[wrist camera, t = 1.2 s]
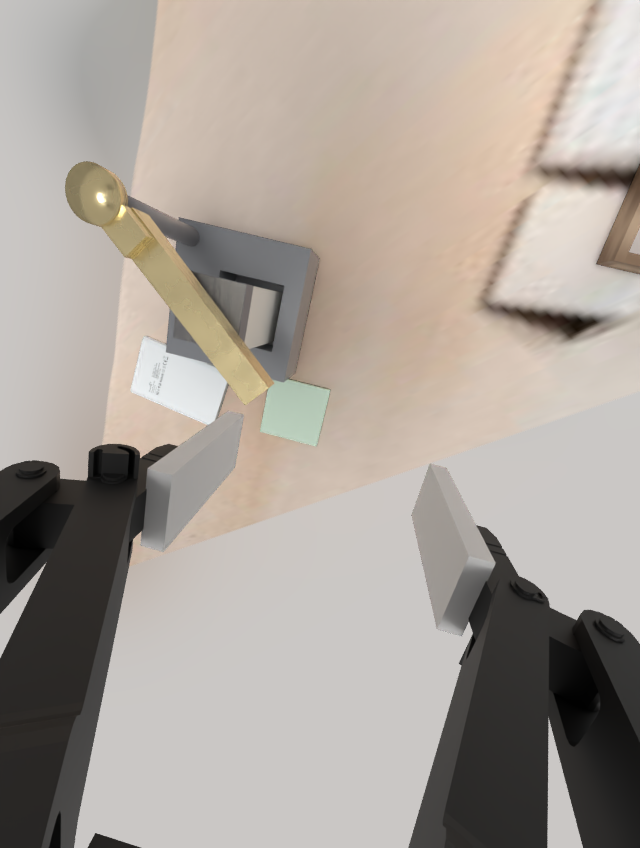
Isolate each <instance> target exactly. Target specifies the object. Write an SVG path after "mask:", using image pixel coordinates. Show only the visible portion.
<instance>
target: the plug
mask: <svg viewBox="0 0 640 848" xmlns="http://www.w3.org/2000/svg"><path fill="white" fill-rule="evenodd" d="M190 271H191V270H190ZM191 272H192V273H193V275H194V276H195V277H196V279H197V280H198V281H199V283H200V284H201V285H202V287H203V288H204V289H205V291H206V292H207V293H208V295H209V296H210V297H211V299H212V300H213V301H214V303H215V304H216V305H217V307H218V308H219V309H220V311H221V312H222V313H223V315H224V316H225V317H226V319H227V320H228V321H229V323H230V324H231V325H232V327H233V328H234V330H235V331H236V332H237V334H238V335H239V336H240V338H241V339H242V340H243V342H244V343H245V344H246V346H247V347H248V348H249V349H251V348H254V347H257V346H260V345H264V344H267V343H270V342H273V341H274V338H275V332H276V327H277V322H278V316H279V311H280V306H281V301H282V295H283V293H281V292H277V291H273V290H269V289H264V288H260V287H256V286H252V285H248V284H244V283H240V282H236V281H232V280H228V279H224V278H220V277H216V276H211V275H207V274H203V273H199V272H195V271H191ZM172 338H175V339H179V340H182V341H186V342H190V343H194V344H197V343H196V341H195V340H194V339H193V338H192V336H191V335H190V334H189V332H188V331H187V330H186V328H185V327H184V326H183V325H182V323H181V322H180V321H179V319H178V318H177V317H176V316H175V317H174V327H173V337H172Z"/></svg>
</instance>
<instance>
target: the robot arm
mask: <svg viewBox="0 0 640 848" xmlns="http://www.w3.org/2000/svg"><path fill="white" fill-rule="evenodd" d="M243 418H244V415H243V414H239V413H235V412H232V411H227V412H226V413H224V414H223V415H222V416H220V417H219V418H217V419H216V420H215V421H213V422H212V423H210V424H209V425H208V426H206V427H205V428H203V429H202V430H201V431H199V432H198V433H196V434H195V435H194V436H192V437H191V438H189V439H188V440H187V441H185V442H184V443H182V444H181V445H180V446H175V445H171V444H167V445H163V446H160V447H156V448H155V449H153V450H152V451H150V452H149V453H148V454H146V455H144V456H143V457H142V458H140V453H139V451H138V450H137V449H136V448H134V447H131V446H128V445H122V444H107V445H100V446H97V447H95V448H93V449H91V450H90V451H89V461H88V478H87V481H80V480H67V479H60V470H59V467H58V466H56V465H55V464H53V463H48V462H43V461H24V462H21V463H17V464H14V465H11V466H9V467H6V468H5V469H3V470H2V471H0V614H1V612H2V611H3V610H4V609H5V608H6V607H7V606H8V605H9V603H10V602H11V601H12V600H13V599H14V598H15V597H16V596H17V594H18V593H19V592H20V591H21V590H22V589H23V588H24V587H25V585H26V584H27V583H28V582H29V581H30V580H31V579H32V578H33V577H34V575H35V574H36V573H37V572H38V571H39V570H40V569H41V567H42V566H43V565H44V564H45V563H46V562H47V563H46V565H45V567H44V569H43V571H42V573H41V575H40V578H39V580H38V582H37V584H36V586H35V588H34V590H33V592H32V594H31V596H30V598H29V600H28V602H27V604H26V606H25V608H24V611H23V613H22V615H21V617H20V619H19V621H18V623H17V625H16V627H15V629H14V631H13V633H12V635H11V638H10V640H9V642H8V644H7V646H6V648H5V650H4V652H3V654H2V656H1V658H0V848H74V843H75V835H76V829H77V822H78V816H79V811H80V806H81V801H82V796H83V791H84V786H85V781H86V776H87V771H88V767H89V762H90V756H91V751H92V747H93V742H94V737H95V732H96V727H97V722H98V716H99V712H100V707H101V702H102V697H103V692H104V687H105V682H106V677H107V672H108V667H109V662H110V657H111V652H112V648H113V642H114V638H115V633H116V628H117V623H118V618H119V613H120V608H121V603H122V598H123V593H124V588H125V583H126V578H127V573H128V568H129V563H130V558H131V553H132V546H133V539H134V538H135V537H136V536H137V535H138V534H139V533H140V532H141V531H142V534H141V546H144V547H147V548H151V549H154V550H158V551H161V552H164V551H165V550H166V548H167V547H168V546H169V545H170V544H171V542H172V541H173V540H174V539H175V538H176V537H177V535H178V534H179V533H180V532H181V531H182V529H183V528H184V527H185V526H186V525H187V524H188V522H189V521H190V520H191V519H192V518H193V516H194V515H195V514H196V513H197V512H198V511H199V509H200V508H201V507H202V506H203V505H204V503H205V502H206V501H207V500H208V499H209V498H210V496H211V495H212V494H213V493H214V492H215V490H216V489H217V488H218V487H219V486H220V484H221V483H222V482H223V481H224V480H225V479H226V477H227V476H228V475H229V474H230V473H231V471H232V470H233V469H234V468H235V464H236V458H237V453H238V447H239V441H240V435H241V430H242V424H243ZM412 519H413V524H414V528H415V533H416V537H417V541H418V546H419V551H420V555H421V560H422V564H423V568H424V572H425V577H426V582H427V587H428V591H429V595H430V600H431V604H432V609H433V613H434V618H435V622H436V627H437V629H438V630H442V631H445V632H449V633H452V634H455V635H459V636H462V635H463V633H464V630H465V628H466V626H467V624H468V622H470V625H471V628H472V631H473V635H472V637H471V639H470V641H469V643H468V645H467V647H466V650H465V652H464V654H463V656H462V658H461V660H460V663H459V664H460V665H462V666H461V670H460V673H459V676H458V680H457V683H456V687H455V690H454V694H453V697H452V700H451V704H450V708H449V711H448V714H447V718H446V721H445V725H444V728H443V731H442V735H441V738H440V742H439V745H438V748H437V752H436V755H435V759H434V762H433V766H432V769H431V772H430V776H429V779H428V783H427V786H426V790H425V793H424V796H423V800H422V803H421V807H420V810H419V814H418V817H417V820H416V824H415V827H414V830H413V834H412V838H411V841H410V844H409V848H547V814H548V813H547V812H548V811H547V810H548V808H547V807H548V716H549V720H550V724H551V727H552V731H553V735H554V739H555V742H556V746H557V750H558V754H559V758H560V762H561V765H562V769H563V773H564V777H565V781H566V784H567V788H568V792H569V796H570V799H571V803H572V807H573V811H574V815H575V818H576V822H577V826H578V830H579V834H580V837H581V841H582V845H583V848H640V644H639V643H638V641H637V640H636V639H635V637H634V636H633V635H632V634H631V633H630V632H629V631H628V630H627V629H626V628H624V627H623V625H622V624H620V623H619V622H618V621H615V620H614V619H613V618H611V617H609V616H606V615H604V614H602V613H600V612H596V611H593V610H584V611H583V612H582V613H581V614H580V616H579V618H578V620H575V619H573V618H570V617H568V616H566V615H564V614H562V613H559V612H558V611H556V610H554V609H551V608H550V607H549V601H548V598H547V597H546V595H545V594H544V593H543V592H542V591H541V590H540V589H539V588H538V587H537V586H536V585H534V584H533V583H531V582H530V581H528V580H526V579H524V578H522V577H519V576H518V574H517V572H516V570H515V569H514V567H513V565H512V563H511V562H510V560H509V558H508V557H507V556H506V553H505V551H504V550H503V549H502V546H501V544H500V543H499V541H498V540H497V538H496V537H495V536H494V535H493V534H492V533H491V532H490V531H489V530H488V529H487V528H485V527H481V526H477V525H476V524H475V522H474V520H473V518H472V516H471V514H470V512H469V510H468V509H467V507H466V505H465V503H464V501H463V499H462V497H461V495H460V493H459V491H458V489H457V487H456V485H455V483H454V481H453V479H452V478H451V476H450V473H449V472H448V470H447V468H445V467H441V466H438V465H434V464H430V465H429V468H428V470H427V473H426V476H425V479H424V482H423V484H422V487H421V490H420V493H419V495H418V498H417V501H416V504H415V507H414V509H413V512H412ZM88 848H140V847H137V846H134V845H131V844H128V843H125V842H121V841H118V840H115V839H112V838H109V837H106V836H103V835H100V834H97V833H95V835H94V837H93V839H92V841H91V843H90V844H89V846H88Z"/></svg>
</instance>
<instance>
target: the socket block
mask: <svg viewBox="0 0 640 848" xmlns="http://www.w3.org/2000/svg"><path fill="white" fill-rule="evenodd" d="M127 196H128V195H127ZM128 207H129V208H132V207H133V208H135V209H137V210H139V211H142V212H144V213H146V214H148V215H149V216H150V217H151V219H152V220H153V221H154V223H155V224H156V225H157V227H158V228H159V229H160V231H161V232H162V233H163V235H164V236H165V237H167V238H170V239H173V240H175V241H177V242H176V252H177V253H178V255H179V256H180V257H181V259H182V260H183V261H184V263H185V264H186V265H187V267H188V268H189V269H190V270H191V271H195V272H199V273H203V274H207V275H211V276H216V277H220V278H224V279H228V280H232V281H236V282H240V283H244V284H248V285H252V286H256V287H260V288H264V289H269V290H273V291H277V292H281V293H283V295H282V301H281V306H280V311H279V316H278V322H277V327H276V332H275V338H274V341H273V342H270V343H267V344H264V345H260V346H257V347H254V348H251V349H249V350H250V351H251V352H252V354H253V355H254V356H255V358H256V359H257V360H258V362H259V363H260V364H261V366H262V367H263V368H264V370H265V371H266V372H267V374H268V375H269V376H270V378H271V379H272V380H276V381H279V382H283V383H284V382H285V381H286V380H288V379H289V378H290V377H291V376H292V375H293V374H295V372H296V368H297V363H298V358H299V353H300V349H301V344H302V339H303V335H304V330H305V325H306V321H307V316H308V311H309V307H310V302H311V297H312V293H313V288H314V283H315V278H316V274H317V269H318V264H319V260H320V258H319V257H318V256H317V255H316V254H315V253H314V252H313V250H312V249H309V248H305V247H301V246H297V245H292V244H288V243H284V242H280V241H276V240H272V239H267V238H263V237H259V236H255V235H251V234H247V233H242V232H238V231H234V230H230V229H226V228H221V227H217V226H213V225H209V224H205V223H201V222H196V221H192V220H188V219H184V218H180V217H179V220H177V219H175V218H173V217H171V216H169V215H167V214H165V213H163V212H161V211H159V210H157V209H155V208H152V207H150V206H148V205H146V204H144V203H142V202H140V201H138V200H136V199H134V198H132V197H130V196H128ZM174 317H175V314H174V313H173V312H172V310H171V309H170V313H169V324H168V334H167V344H166V352H167V353H171V354H175V355H178V356H182V357H186V358H190V359H194V360H198V361H202V362H206V363H209V364H213V363H212V362H211V361H210V359H209V358H208V357H207V356H206V354H205V353H204V352H203V350H202V349H201V348H200V347H199V345H198V344H194V343H190V342H186V341H182V340H179V339H175V338H172V337H173V327H174Z"/></svg>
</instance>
